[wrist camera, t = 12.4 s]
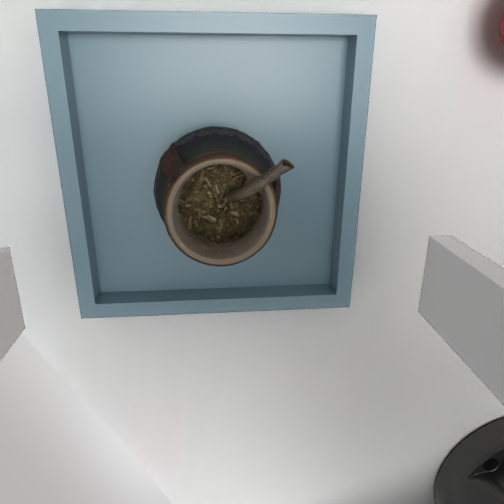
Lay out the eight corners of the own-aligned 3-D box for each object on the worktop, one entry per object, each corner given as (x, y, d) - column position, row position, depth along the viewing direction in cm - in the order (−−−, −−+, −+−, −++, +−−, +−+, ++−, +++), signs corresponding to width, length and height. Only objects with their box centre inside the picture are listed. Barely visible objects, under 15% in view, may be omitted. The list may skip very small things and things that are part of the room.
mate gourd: (135, 193, 29) (103, 247, 20) (203, 91, 27) (203, 96, 18) (228, 253, 31) (239, 327, 22) (296, 162, 29) (340, 199, 20)
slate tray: (339, 291, 34) (349, 307, 31) (90, 300, 32) (81, 318, 30) (362, 19, 27) (376, 14, 25) (50, 14, 26) (34, 9, 23)
